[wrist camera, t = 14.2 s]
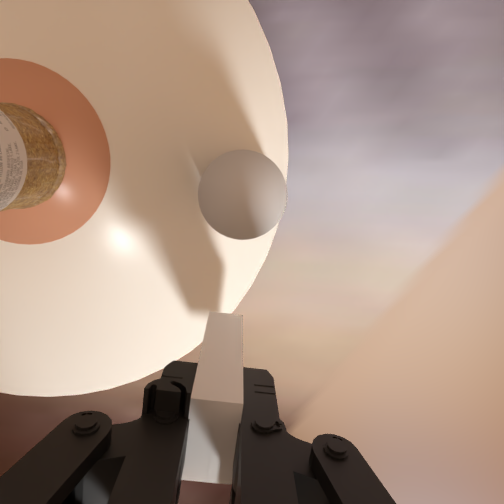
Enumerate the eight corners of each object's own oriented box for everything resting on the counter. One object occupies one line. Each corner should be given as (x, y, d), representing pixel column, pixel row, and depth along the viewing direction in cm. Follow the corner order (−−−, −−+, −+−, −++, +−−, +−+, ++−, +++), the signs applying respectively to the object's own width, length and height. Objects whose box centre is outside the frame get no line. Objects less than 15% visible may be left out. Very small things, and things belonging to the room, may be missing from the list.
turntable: (249, 393, 23) (252, 498, 16) (-180, 346, 22) (-391, 438, 14) (320, -74, 18) (374, -236, 11) (-238, -174, 16) (-614, -438, 9)
